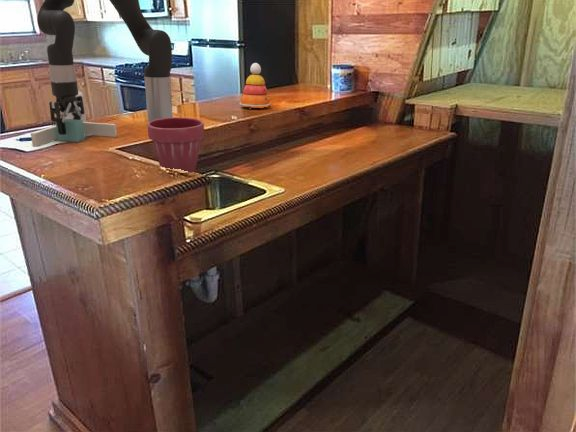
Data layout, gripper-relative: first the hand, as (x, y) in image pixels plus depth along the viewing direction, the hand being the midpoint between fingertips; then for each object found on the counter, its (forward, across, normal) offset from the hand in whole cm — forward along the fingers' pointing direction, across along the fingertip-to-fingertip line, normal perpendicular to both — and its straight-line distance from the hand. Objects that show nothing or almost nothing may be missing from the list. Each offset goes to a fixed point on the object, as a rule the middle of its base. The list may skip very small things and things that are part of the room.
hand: (70, 131), depth 161 cm
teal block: (+2, 0, 0) cm, 2 cm away
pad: (+3, 0, 0) cm, 3 cm away
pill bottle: (+3, -18, -10) cm, 21 cm away
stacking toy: (+3, -79, +41) cm, 89 cm away
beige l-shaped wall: (+3, +1, +2) cm, 4 cm away
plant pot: (+3, +22, +46) cm, 51 cm away
